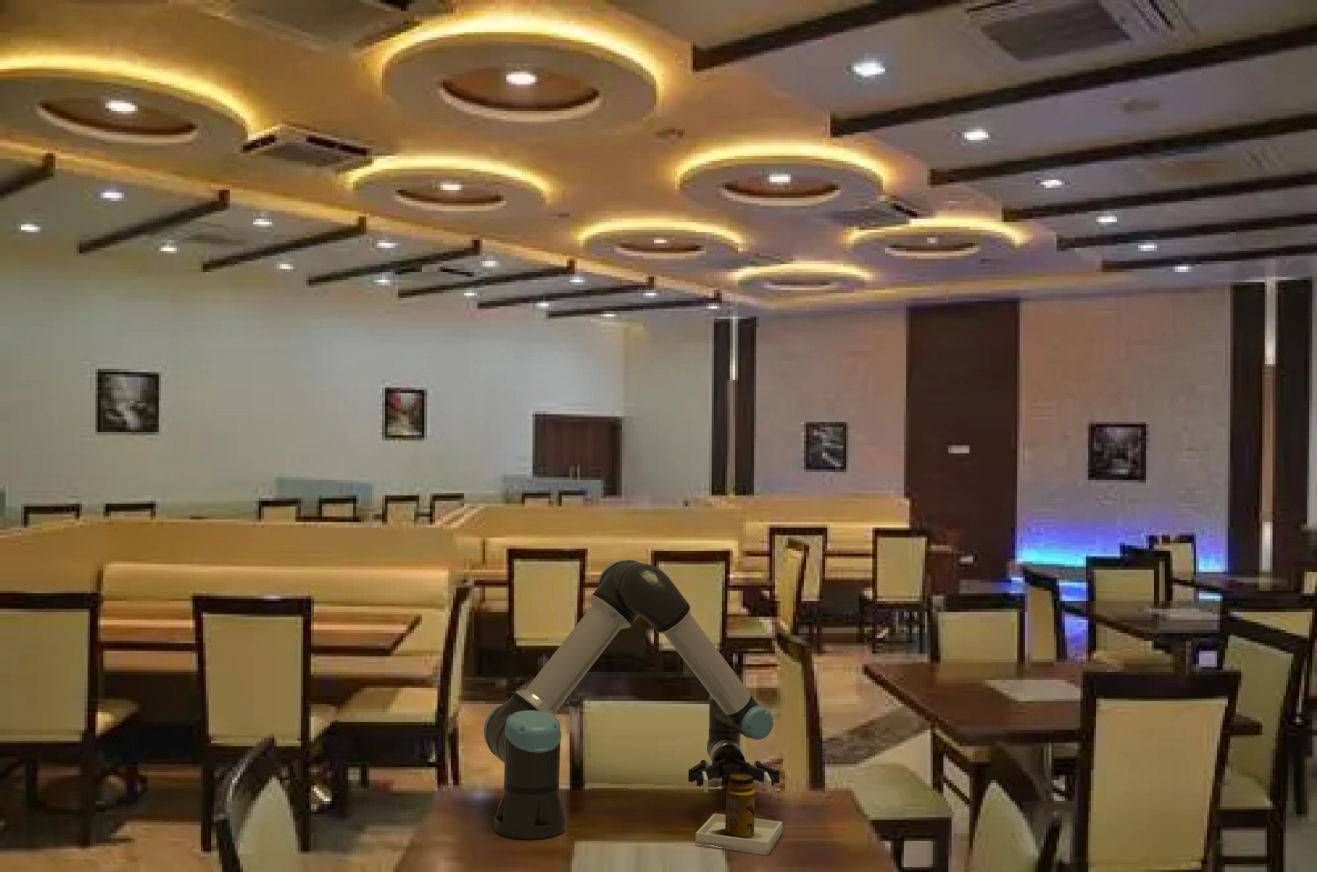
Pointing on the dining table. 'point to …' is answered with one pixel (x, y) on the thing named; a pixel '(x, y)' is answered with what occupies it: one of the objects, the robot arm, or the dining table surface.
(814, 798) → the dining table surface
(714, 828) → the tray
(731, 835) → the condiment
